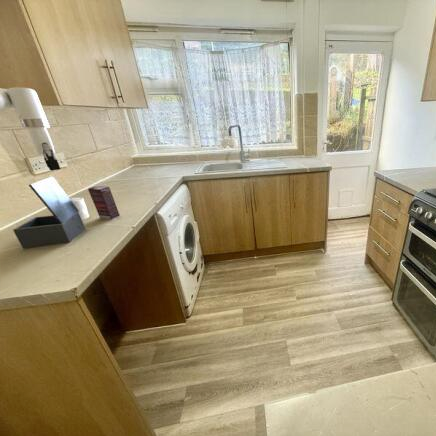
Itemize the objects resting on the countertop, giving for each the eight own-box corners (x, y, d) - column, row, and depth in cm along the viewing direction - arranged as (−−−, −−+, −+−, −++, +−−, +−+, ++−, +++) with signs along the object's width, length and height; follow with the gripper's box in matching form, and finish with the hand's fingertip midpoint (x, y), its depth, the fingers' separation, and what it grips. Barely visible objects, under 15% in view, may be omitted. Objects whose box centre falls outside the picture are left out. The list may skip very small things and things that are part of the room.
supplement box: (121, 216, 123) (109, 186, 116) (112, 220, 118) (99, 189, 112) (109, 215, 125) (97, 185, 119) (99, 219, 121) (86, 188, 115)
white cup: (67, 220, 120) (58, 202, 116) (84, 214, 127) (76, 196, 122) (77, 222, 117) (68, 203, 113) (94, 216, 124) (86, 197, 120)
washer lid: (28, 185, 87) (30, 184, 87) (50, 176, 98) (52, 176, 98) (60, 223, 94) (62, 223, 94) (77, 212, 105) (79, 211, 105)
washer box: (23, 250, 94) (12, 229, 91) (44, 235, 106) (35, 217, 102) (70, 244, 98) (61, 224, 94) (86, 230, 109) (78, 212, 105)
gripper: (21, 124, 97) (40, 167, 104) (22, 125, 86) (43, 173, 93) (46, 123, 102) (63, 164, 109) (50, 123, 91) (68, 169, 98)
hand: (54, 168), depth 101 cm, fingers open, 9 cm apart
